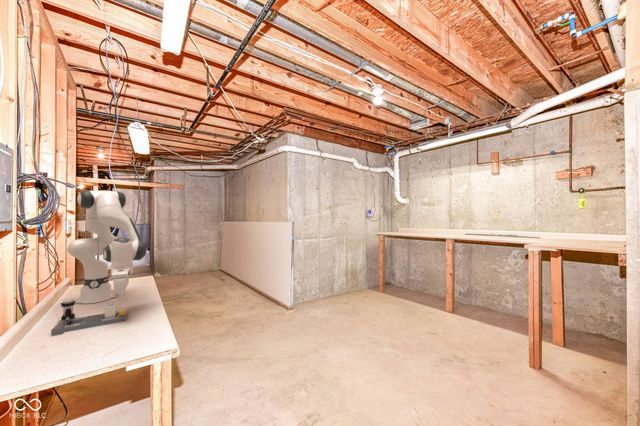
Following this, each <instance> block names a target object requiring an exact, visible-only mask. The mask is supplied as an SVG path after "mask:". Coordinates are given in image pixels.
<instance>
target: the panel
mask: <svg viewBox="0 0 640 426" xmlns="http://www.w3.org/2000/svg"><path fill="white" fill-rule="evenodd" d="M119 311H120V310H118V311H117V310H116V317H112V318H106V319H105V313H99V314H94V315H88V316H87V315H86V316H80V317H75V318H74V319H68V320H62V321H58V323H56V324H55V326H53V328H52V329H51V331H50V337H54V336H60V335H64V334H65V333H67V332H72V331H78V330H79V331H80V330H83V329H89V328H94V327H100V326H106V325H111V324H112V325H113V324H116V323H117V324H118V323H122V322H126V320H127V319H128V315H129V309H126V314H125V315H119Z"/></svg>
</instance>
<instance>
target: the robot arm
mask: <svg viewBox="0 0 640 426" xmlns="http://www.w3.org/2000/svg"><path fill="white" fill-rule="evenodd" d="M76 200H77V201H76V202H77V204H78V206H79V207H81V208H82V209H85V210H86V212H85V226H84V227H85V229H86V231H87V232H90V233H91V234H94V235H97V237H87V238H78V239H74V240H71V241H70V242H69V244H68V245H67V253H68V254H69V255H70V256H71V257H73V258H75V259H77V260H78V261H80V262H81V264H82V267H83V273H84V276H83V277H84V278H83V282H82V283H83V286H82V287H81V288H80V289H79V299H78V300H75V301H76V302H75V304H84V305H85V304H95V303H100V302H104V301H108V300H111V299H114V297H115V298H117V297H116V295H119V299H122V300H123V299H124V298H125V297H126V290H127V287H128V285H129V282H130V279H129V278H130V277H131V275H132V274H133V273H134V263H133V261H140V260H142V259H143V258H144V257H145V256H147V247H146V245H145V243H144V242H143V240H142V238H141V236H140V234H139V232H138V229H137V227H136V225H135V223H134V221H133V219H132V218H131V217H129V216H127V215H126V214H125V213H124V211H123V208H124V207H125V206H126V204H127V203H126V202H127V197H126V194H125V193H123V192H121V191H112V190H88V189H87V190H81V191H80V192H79V193H78V195H77V199H76ZM110 227H111V228H116V229H120V230H122V231H124V232H125V233H126V234H127V236H128V237H117V236H115V235H114V234H113V233H112V232H111V228H110ZM100 255H101V256H103V257H102V259H103V260H105V261H103V260H100V259H96V256H100ZM107 262H108V263H111V264H110V276H111V279H112V280H113V281H112V282H113V283H112V284H113V289H112V285H111V284H110V282H109V280H110V277H109V274H108V271H109V270H108V269H109V268H108V267H109V266H108V263H107Z"/></svg>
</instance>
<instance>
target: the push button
mask: <svg viewBox="0 0 640 426" xmlns="http://www.w3.org/2000/svg"><path fill="white" fill-rule="evenodd" d="M76 301H77V300H74V299H72V298H70V299H65V300H63V302H60V305H61V307H62V308H63V309H62V311H63V314H62V316H60V317H61V318H58V319H57V322H60V321H62V320H68V319H74V318H76V313H75V312H74V306H75V305H76Z"/></svg>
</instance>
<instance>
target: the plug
mask: <svg viewBox="0 0 640 426" xmlns="http://www.w3.org/2000/svg"><path fill="white" fill-rule="evenodd" d="M116 312H117V303H116V302H109V303H107V304H105V305H104V314H105V319H106V318H112V317H116Z"/></svg>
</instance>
